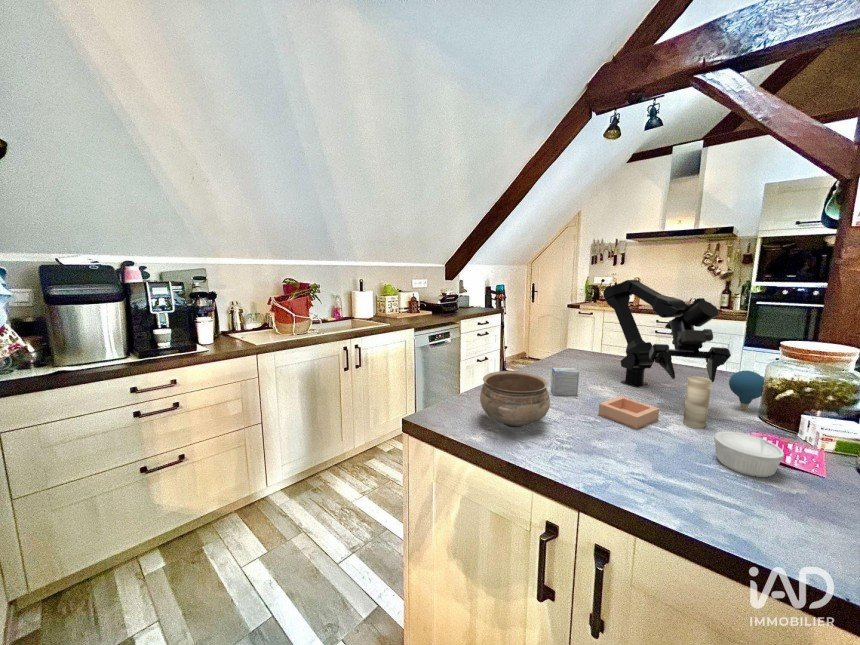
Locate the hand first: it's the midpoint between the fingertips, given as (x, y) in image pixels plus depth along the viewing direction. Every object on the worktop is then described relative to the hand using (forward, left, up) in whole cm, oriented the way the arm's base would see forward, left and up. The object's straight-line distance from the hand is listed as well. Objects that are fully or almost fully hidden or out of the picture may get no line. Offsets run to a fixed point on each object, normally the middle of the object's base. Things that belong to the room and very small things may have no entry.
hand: (693, 380), depth 98 cm
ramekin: (+17, +18, -11) cm, 27 cm away
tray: (+15, -9, -11) cm, 21 cm away
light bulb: (-20, +6, -11) cm, 24 cm away
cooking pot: (+45, -24, -11) cm, 52 cm away
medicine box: (+15, -31, -11) cm, 36 cm away
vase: (+4, +3, -11) cm, 12 cm away
